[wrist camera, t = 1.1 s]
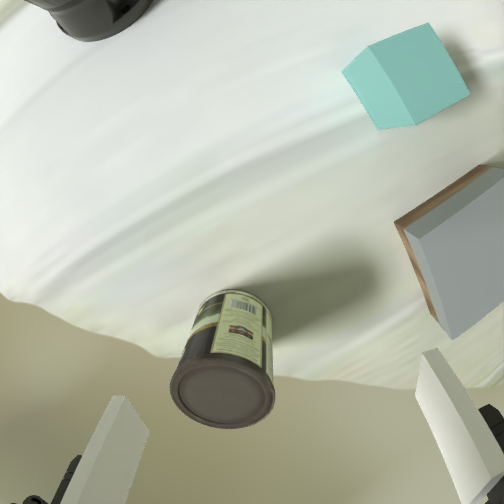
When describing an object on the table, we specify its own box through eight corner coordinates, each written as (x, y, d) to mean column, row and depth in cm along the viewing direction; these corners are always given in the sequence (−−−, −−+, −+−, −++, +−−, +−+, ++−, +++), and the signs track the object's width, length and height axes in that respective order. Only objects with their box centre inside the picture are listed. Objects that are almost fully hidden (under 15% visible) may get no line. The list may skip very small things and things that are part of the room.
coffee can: (203, 354, 42) (183, 428, 29) (190, 291, 39) (157, 358, 26) (275, 351, 42) (277, 428, 28) (270, 286, 38) (271, 356, 25)
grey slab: (403, 229, 32) (418, 239, 28) (492, 166, 28) (511, 170, 25) (439, 325, 36) (452, 340, 32) (516, 264, 32) (531, 275, 29)
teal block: (341, 72, 30) (367, 46, 20) (391, 48, 28) (428, 22, 18) (377, 129, 32) (415, 125, 22) (425, 103, 30) (470, 94, 20)
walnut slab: (391, 220, 36) (404, 228, 32) (476, 164, 32) (493, 167, 28) (428, 311, 40) (440, 325, 36) (501, 256, 36) (516, 265, 32)
